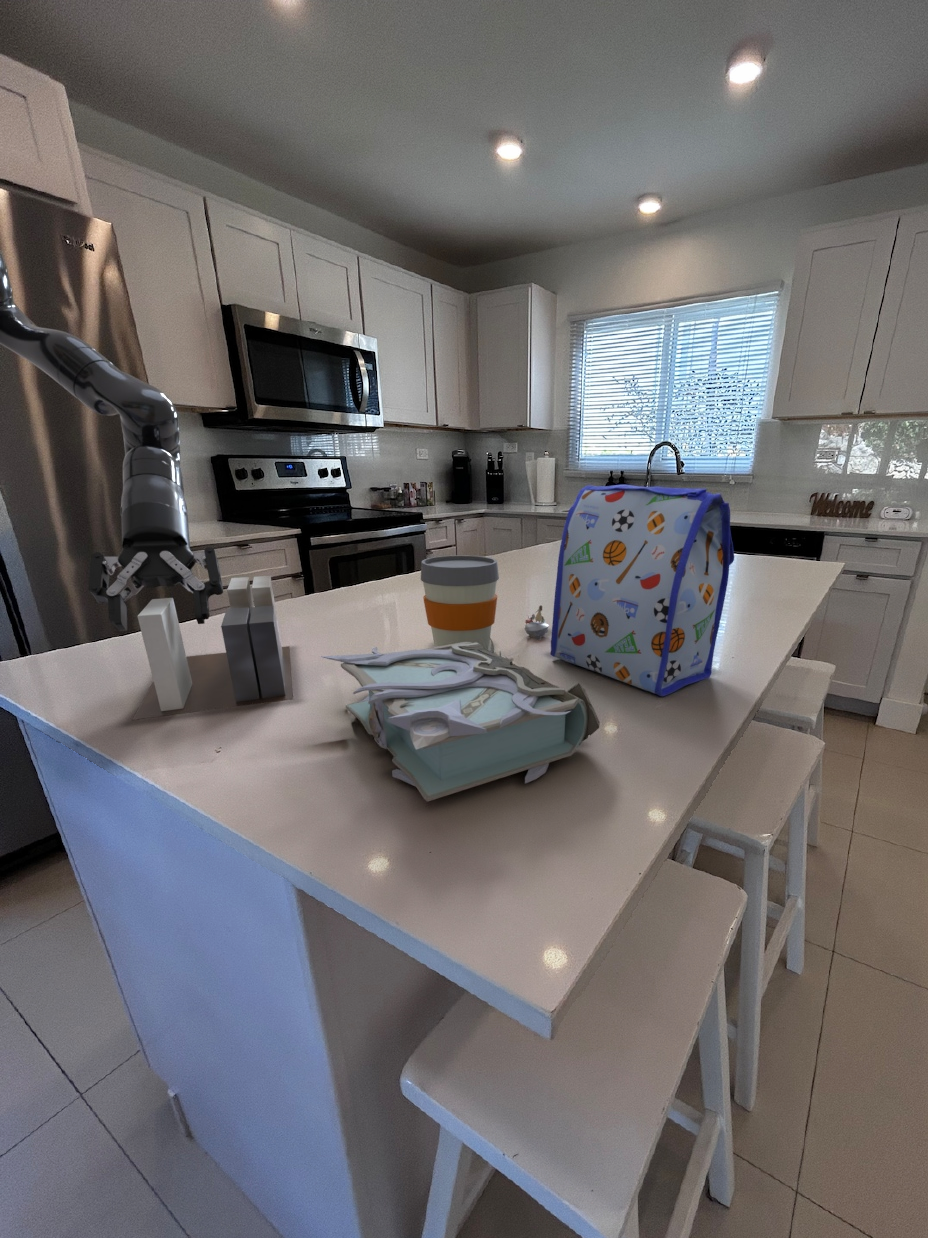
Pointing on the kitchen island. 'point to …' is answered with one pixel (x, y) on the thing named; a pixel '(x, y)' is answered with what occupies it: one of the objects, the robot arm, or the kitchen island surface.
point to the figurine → (536, 625)
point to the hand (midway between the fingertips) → (161, 624)
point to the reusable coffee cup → (460, 598)
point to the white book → (165, 653)
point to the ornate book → (465, 715)
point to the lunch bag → (642, 584)
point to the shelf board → (210, 687)
